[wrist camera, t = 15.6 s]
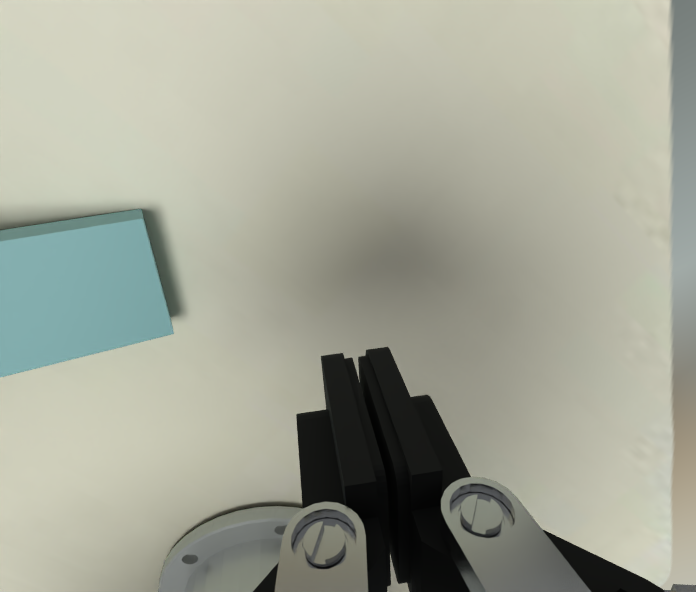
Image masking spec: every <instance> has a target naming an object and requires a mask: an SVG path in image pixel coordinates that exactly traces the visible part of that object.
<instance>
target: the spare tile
mask: <svg viewBox="0 0 696 592" xmlns="http://www.w3.org/2000/svg"><path fill="white" fill-rule="evenodd" d="M171 334H174V332H173V327H172V323H171V318H170V314H169V310H168V307H167V303H166V299H165V295H164V292H163V288H162V284H161V280H160V277H159V273H158V269H157V266H156V262H155V258H154V254H153V251H152V247H151V243H150V239H149V236H148V232H147V228H146V225H145V221H144V217H143V213H142V210H141V209H136V210H130V211H123V212H117V213H110V214H103V215H97V216H90V217H84V218H77V219H71V220H64V221H58V222H51V223H45V224H38V225H32V226H25V227H19V228H12V229H6V230H0V377H4V376H8V375H12V374H16V373H20V372H24V371H28V370H32V369H36V368H40V367H44V366H48V365H51V364H55V363H59V362H63V361H67V360H71V359H75V358H79V357H83V356H87V355H91V354H95V353H99V352H103V351H107V350H111V349H115V348H119V347H123V346H127V345H131V344H135V343H139V342H143V341H147V340H151V339H155V338H159V337H163V336H167V335H171Z"/></svg>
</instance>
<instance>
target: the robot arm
mask: <svg viewBox="0 0 696 592" xmlns="http://www.w3.org/2000/svg"><path fill="white" fill-rule="evenodd" d="M321 362H322V372H323V381H324V391H325V400H326V410H321V411H314V412H307V413H300V414H297V431H298V445H299V460H300V474H301V489H302V503H303V508H298V507H286V506H267V507H255V508H250V509H244V510H239V511H235V512H232V513H229V514H226V515H223V516H220V517H217V518H215V519H213V520H211V521H209V522H207V523H205V524H203V525H201V526H199V527H197V528H196V529H194V530H193V531H192V532H190V533H189V534H187V535H186V536H184V537H183V538H182V539H181V540H180V541H179V542H178V543H177V544H176V546H175V547H174V548H173V549H172V550H171V552H170V553H169V555H168V557H167V558H166V560H165V562H164V566H163V569H162V573H161V576H160V581H159V588H158V592H387V586H390V585H391V574H390V554H391V558H392V562H393V566H394V570H395V574H396V578H397V581H398V583H399V584H400V583H406V582H407V584H408V587H409V591H410V592H696V585H677V584H673V586H672V588H671V590H663V589H661V588H660V587H658V586H656V585H655V584H653V583H651V582H650V581H648V580H646V579H644V578H642V577H640V576H638V575H636V574H634V573H632V572H630V571H628V570H626V569H624V568H622V567H619V566H617V565H615V564H613V563H611V562H609V561H607V560H605V559H603V558H601V557H599V556H597V555H594V554H592V553H590V552H588V551H586V550H584V549H582V548H580V547H578V546H576V545H574V544H572V543H570V542H567V541H565V540H563V539H561V538H559V537H557V536H555V535H553V534H551V533H549V532H547V531H545V530H542V529H541V528H540V526H539V525H538V524H537V522H536V521H535V520H534V519H533V517H532V516H531V515H530V514H529V512H528V511H527V510H526V509H525V507H524V506H523V505H522V503H521V502H520V501H519V500H518V498H517V497H516V496H515V495H514V494H513V493H512V492H511V491H510V490H509V489H508V488H506V487H504V486H503V485H501V484H499V483H498V482H496V481H492V480H489V479H486V478H480V477H471V476H470V474H469V472H468V470H467V468H466V466H465V464H464V462H463V460H462V458H461V456H460V454H459V452H458V450H457V448H456V446H455V444H454V442H453V440H452V439H451V437H450V435H449V433H448V431H447V429H446V427H445V425H444V423H443V421H442V419H441V417H440V415H439V413H438V411H437V409H436V407H435V405H434V403H433V401H432V399H431V398H430V396H428V395H422V396H415V397H410V395H409V392H408V390H407V388H406V386H405V383H404V381H403V379H402V377H401V374H400V372H399V370H398V368H397V365H396V363H395V361H394V358H393V356H392V354H391V352H390V349H389V348H388V347H384V348H377V349H369V350H366V356H361V357H359V358H358V363H359V379H360V383H359V379H358V376H357V372H356V369H355V365H354V362H353V359H352V358H346V359H344V355H343V353H340V354H332V355H325V356H321Z"/></svg>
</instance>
